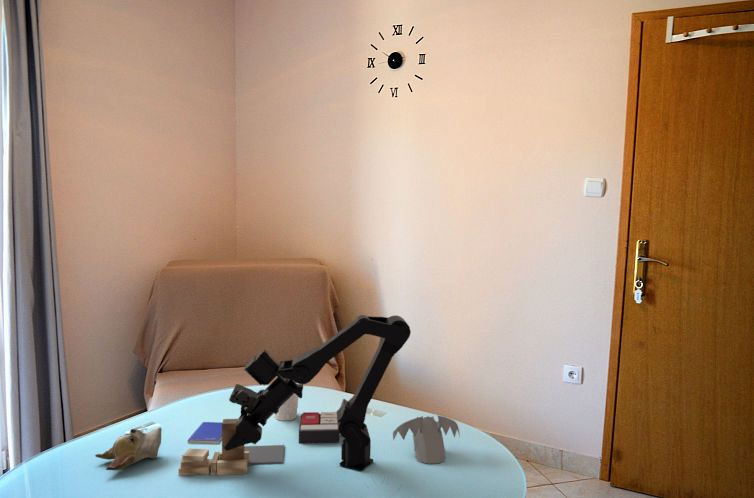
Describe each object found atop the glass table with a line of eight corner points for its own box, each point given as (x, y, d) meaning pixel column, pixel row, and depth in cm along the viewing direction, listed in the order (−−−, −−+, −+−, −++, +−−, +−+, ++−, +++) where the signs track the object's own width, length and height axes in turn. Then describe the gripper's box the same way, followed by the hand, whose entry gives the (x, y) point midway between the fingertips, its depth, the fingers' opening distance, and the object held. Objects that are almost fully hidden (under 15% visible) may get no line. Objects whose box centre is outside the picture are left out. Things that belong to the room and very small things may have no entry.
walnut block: (244, 465, 147) (244, 418, 146) (243, 471, 144) (243, 423, 143) (223, 466, 146) (223, 419, 145) (222, 471, 143) (221, 423, 142)
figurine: (454, 442, 163) (455, 403, 162) (467, 462, 151) (469, 420, 150) (390, 444, 161) (390, 405, 160) (398, 465, 148) (399, 423, 147)
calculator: (338, 410, 176) (339, 427, 161) (338, 425, 176) (339, 443, 161) (301, 411, 175) (298, 428, 160) (301, 425, 175) (298, 444, 160)
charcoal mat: (284, 446, 158) (284, 445, 158) (282, 463, 148) (282, 461, 148) (238, 447, 157) (238, 446, 157) (233, 465, 147) (233, 463, 147)
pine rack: (249, 462, 148) (249, 450, 148) (246, 473, 143) (246, 461, 142) (214, 463, 147) (214, 452, 147) (210, 475, 142) (210, 462, 141)
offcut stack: (212, 464, 147) (212, 446, 147) (208, 474, 142) (208, 456, 141) (182, 465, 146) (182, 447, 146) (178, 475, 141) (177, 457, 141)
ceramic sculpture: (168, 427, 147) (104, 446, 138) (171, 460, 148) (107, 481, 139) (153, 415, 156) (92, 432, 146) (156, 446, 157) (95, 465, 147)
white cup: (269, 414, 181) (269, 382, 180) (294, 410, 185) (294, 379, 184) (276, 423, 174) (276, 390, 173) (302, 419, 177) (302, 387, 177)
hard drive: (217, 440, 159) (230, 422, 172) (187, 439, 159) (202, 421, 172) (217, 445, 159) (230, 427, 172) (187, 444, 160) (202, 426, 172)
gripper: (253, 363, 153) (209, 406, 152) (246, 387, 134) (196, 435, 134) (283, 393, 154) (240, 435, 154) (281, 420, 136) (231, 468, 136)
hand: (227, 442), depth 144 cm, fingers open, 8 cm apart
